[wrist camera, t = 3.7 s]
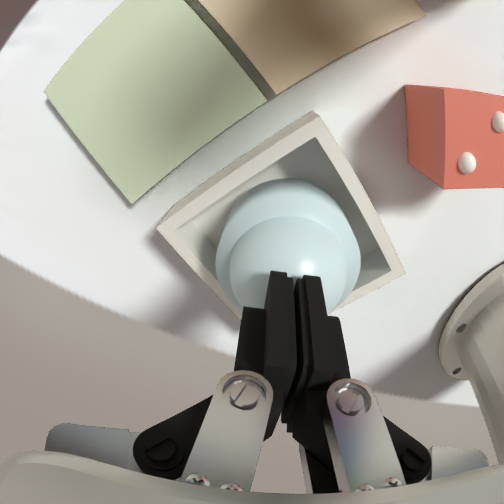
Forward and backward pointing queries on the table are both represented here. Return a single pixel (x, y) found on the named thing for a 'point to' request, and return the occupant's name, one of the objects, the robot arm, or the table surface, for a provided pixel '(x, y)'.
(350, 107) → the table surface
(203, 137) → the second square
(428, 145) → the die
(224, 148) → the table surface
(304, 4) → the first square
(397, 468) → the robot arm
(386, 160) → the table surface
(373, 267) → the popper housing
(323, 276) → the dome
